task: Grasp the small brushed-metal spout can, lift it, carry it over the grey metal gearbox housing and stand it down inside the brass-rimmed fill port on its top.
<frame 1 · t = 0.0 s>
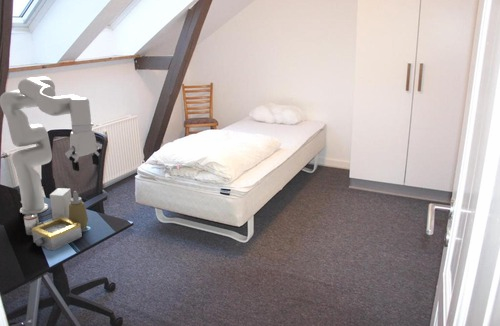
hand: (86, 167, 167), 31 cm above the table, tool pointing down, fingers open, 9 cm apart
skincare box: (64, 222, 187), on the table
gearbox: (58, 239, 170), on the table
squeeze bottle: (79, 228, 181), on the table
spout can: (33, 232, 176), on the table
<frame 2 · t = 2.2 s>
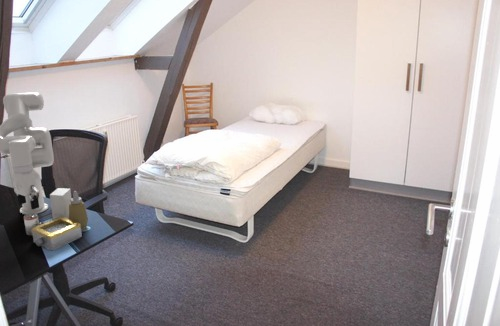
hand: (28, 205, 171), 13 cm above the table, tool pointing down, fingers open, 9 cm apart
nothing on the table moved.
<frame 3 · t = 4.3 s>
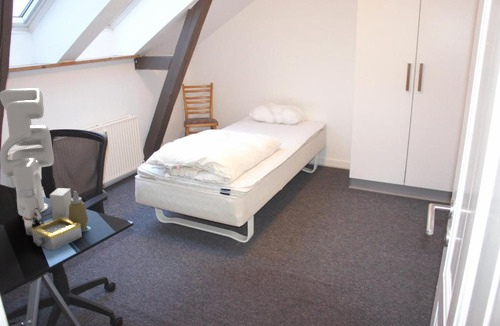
hand: (32, 228, 175), 2 cm above the table, tool pointing down, fingers closed on spout can, 5 cm apart
spout can: (33, 232, 176), on the table, touching gripper
everything else where it was.
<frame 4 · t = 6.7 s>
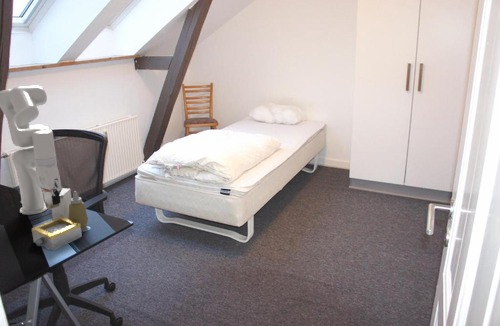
hand: (52, 201, 165), 18 cm above the table, tool pointing down, fingers closed on spout can, 5 cm apart
spout can: (52, 205, 165), point 16 cm above the table, touching gripper
everything else where it was.
when the fingers open (7 cm above the table, at t = 9.4 s): spout can stays where it is, resting on gearbox.
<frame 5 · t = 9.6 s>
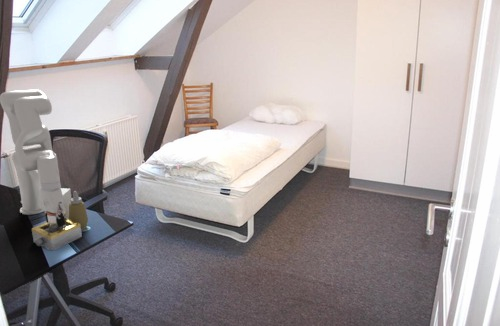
hand: (55, 223, 168), 8 cm above the table, tool pointing down, fingers open, 7 cm apart
spout can: (56, 228, 169), point 5 cm above the table, touching gearbox
everything else where it was.
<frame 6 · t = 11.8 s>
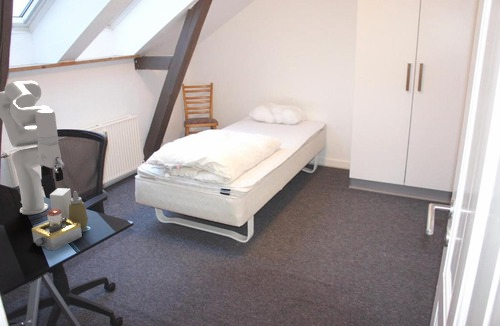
hand: (52, 177, 169), 26 cm above the table, tool pointing down, fingers open, 9 cm apart
nothing on the table moved.
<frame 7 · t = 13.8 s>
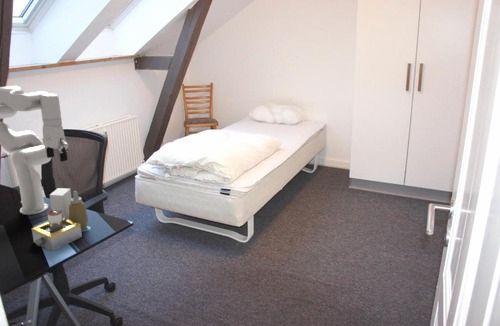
hand: (57, 158, 180), 30 cm above the table, tool pointing down, fingers open, 9 cm apart
nothing on the table moved.
at the end: spout can inside the target area on the gearbox (0.1 cm from its centre), point 5.3 cm above the gearbox's base; spout can tilted 1°; the gripper is holding nothing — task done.
